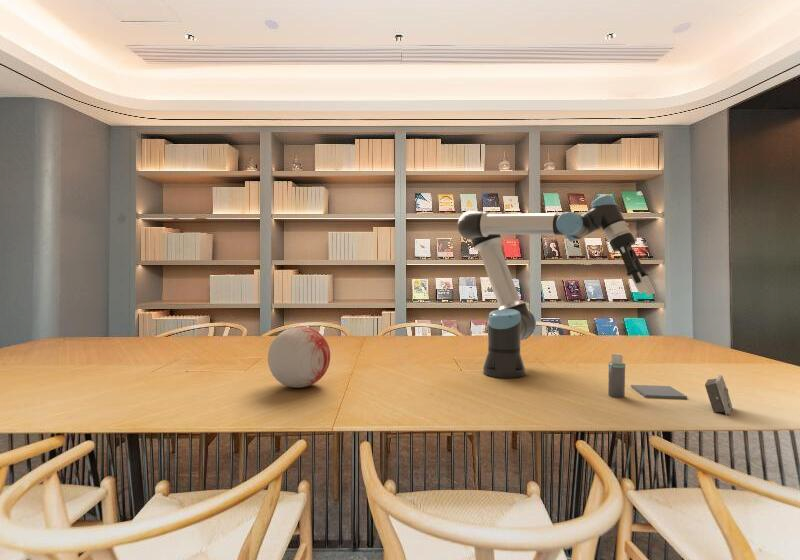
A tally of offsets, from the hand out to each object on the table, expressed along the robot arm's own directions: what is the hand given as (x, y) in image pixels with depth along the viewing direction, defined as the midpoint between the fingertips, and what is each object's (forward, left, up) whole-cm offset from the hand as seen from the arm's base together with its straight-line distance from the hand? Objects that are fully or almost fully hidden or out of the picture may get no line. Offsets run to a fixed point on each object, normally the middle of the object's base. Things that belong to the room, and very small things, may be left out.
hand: (647, 293), depth 156 cm
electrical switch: (+10, -24, -31) cm, 41 cm away
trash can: (-14, -13, -31) cm, 36 cm away
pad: (0, -8, -31) cm, 32 cm away
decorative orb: (-115, -16, -31) cm, 120 cm away
